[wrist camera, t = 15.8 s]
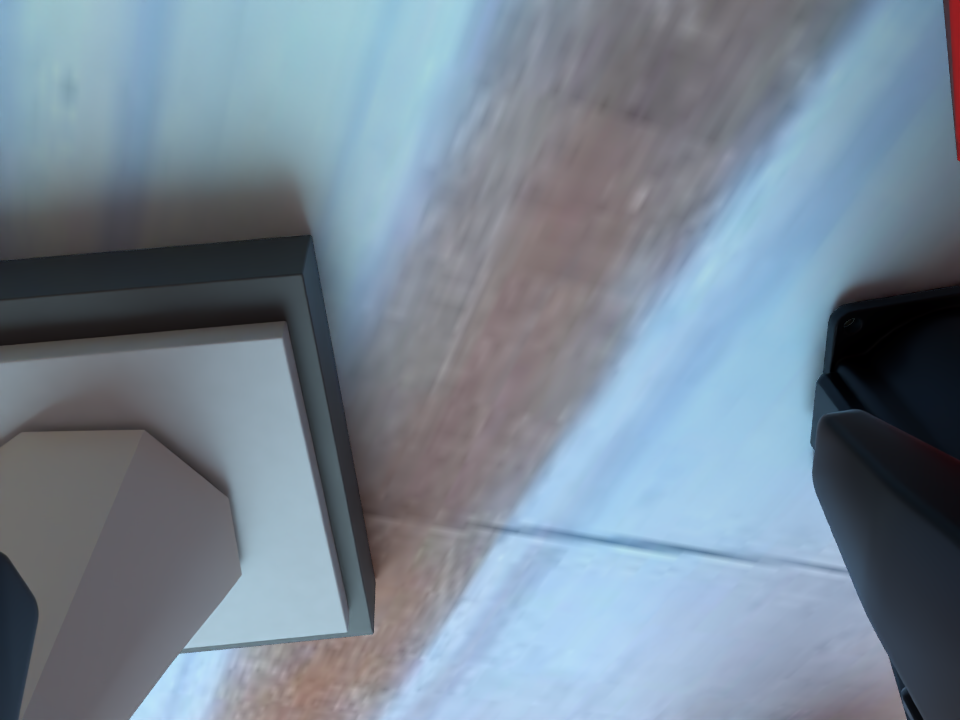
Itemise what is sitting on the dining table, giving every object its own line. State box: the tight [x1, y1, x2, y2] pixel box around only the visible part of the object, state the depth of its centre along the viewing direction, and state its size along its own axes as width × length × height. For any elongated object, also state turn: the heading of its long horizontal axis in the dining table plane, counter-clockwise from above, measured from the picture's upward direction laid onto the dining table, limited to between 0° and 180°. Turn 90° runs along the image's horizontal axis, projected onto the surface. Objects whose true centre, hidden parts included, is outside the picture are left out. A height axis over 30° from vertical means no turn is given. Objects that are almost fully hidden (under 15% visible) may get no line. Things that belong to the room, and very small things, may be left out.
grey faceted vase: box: [0, 430, 242, 720], centre depth 18 cm, size 7×7×10 cm
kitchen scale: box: [0, 235, 376, 654], centre depth 23 cm, size 13×13×3 cm
